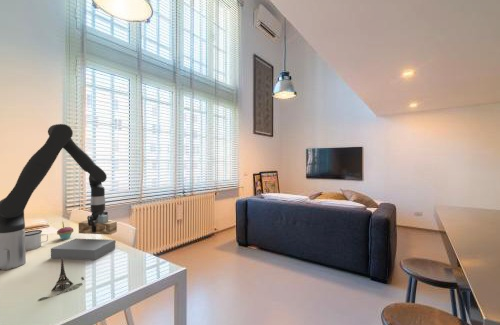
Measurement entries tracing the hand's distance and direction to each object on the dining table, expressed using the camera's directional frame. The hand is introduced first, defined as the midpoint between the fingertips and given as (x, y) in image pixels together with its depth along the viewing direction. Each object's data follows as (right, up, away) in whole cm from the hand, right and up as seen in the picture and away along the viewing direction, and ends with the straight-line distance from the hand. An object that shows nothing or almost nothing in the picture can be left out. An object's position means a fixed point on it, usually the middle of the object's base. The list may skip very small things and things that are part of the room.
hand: (98, 230), depth 141 cm
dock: (+3, -8, -16) cm, 18 cm away
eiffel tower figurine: (+19, -9, -50) cm, 54 cm away
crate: (+3, +5, 0) cm, 6 cm away
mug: (-33, -8, -6) cm, 35 cm away
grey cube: (-3, +5, +1) cm, 6 cm away
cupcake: (-27, -8, +9) cm, 30 cm away
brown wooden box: (0, -1, 0) cm, 1 cm away
